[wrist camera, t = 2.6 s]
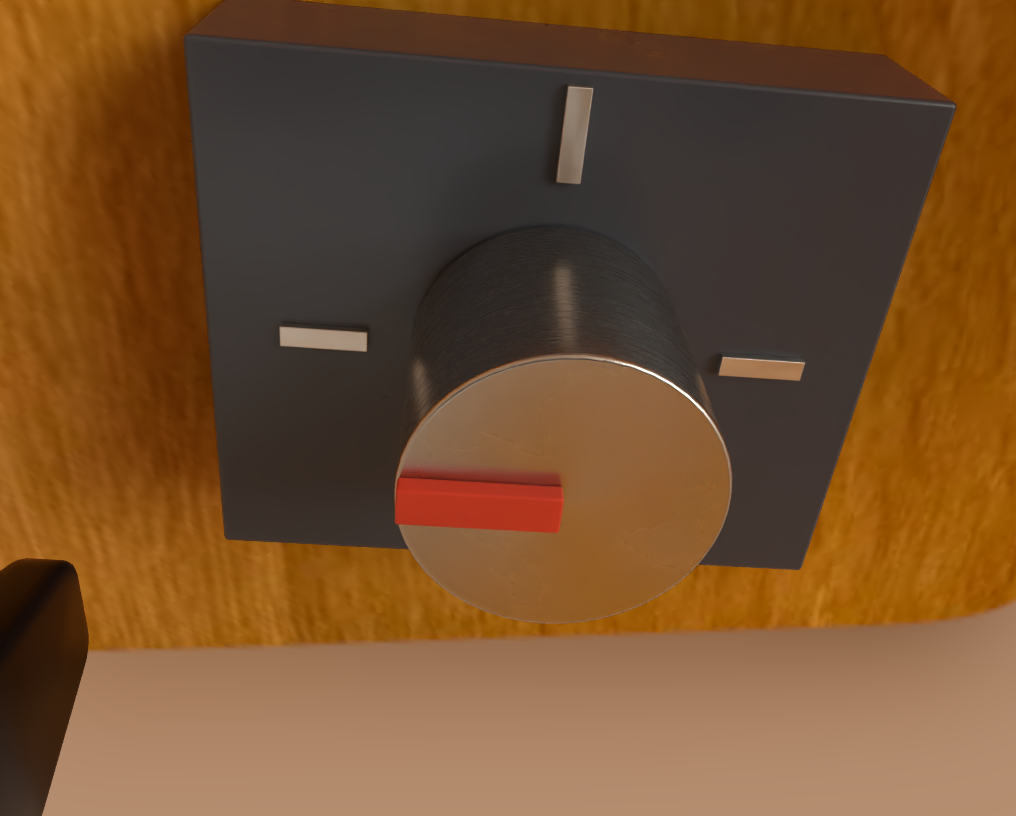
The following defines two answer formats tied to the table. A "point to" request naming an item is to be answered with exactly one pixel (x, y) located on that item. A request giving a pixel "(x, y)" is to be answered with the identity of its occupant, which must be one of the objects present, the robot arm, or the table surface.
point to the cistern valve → (531, 204)
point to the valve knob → (556, 432)
